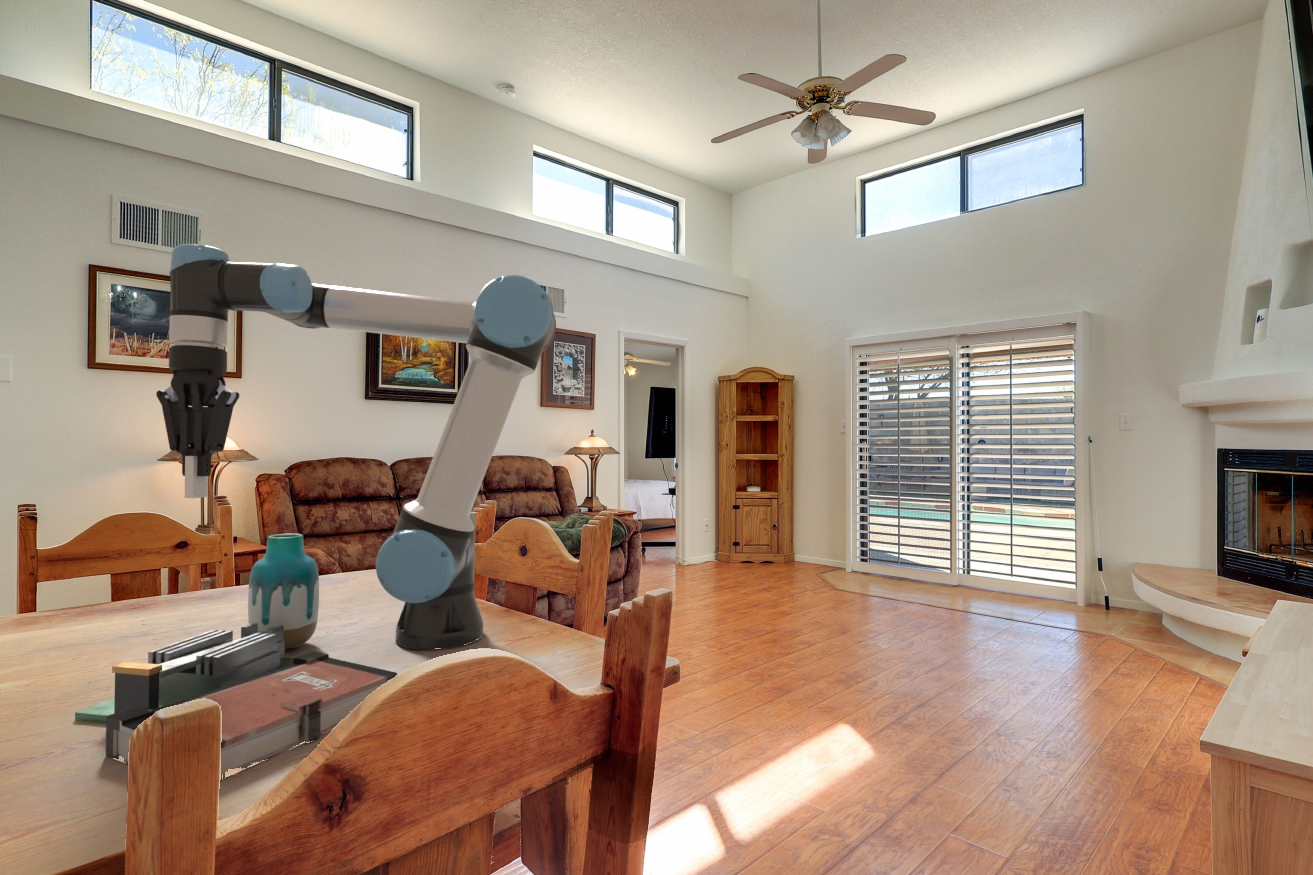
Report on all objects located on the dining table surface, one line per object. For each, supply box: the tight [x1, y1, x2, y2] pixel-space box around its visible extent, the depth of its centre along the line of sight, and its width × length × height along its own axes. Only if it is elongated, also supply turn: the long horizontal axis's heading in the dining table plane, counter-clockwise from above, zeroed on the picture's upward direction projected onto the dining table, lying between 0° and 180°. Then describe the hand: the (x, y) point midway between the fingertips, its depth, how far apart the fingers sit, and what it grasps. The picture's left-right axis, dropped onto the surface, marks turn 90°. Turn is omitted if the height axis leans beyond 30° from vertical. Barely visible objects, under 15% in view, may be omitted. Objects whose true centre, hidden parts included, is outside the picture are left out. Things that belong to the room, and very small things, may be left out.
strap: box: [159, 637, 245, 678], centre depth 95 cm, size 3×20×1 cm, turn 170°
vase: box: [247, 533, 320, 650], centre depth 114 cm, size 11×11×19 cm
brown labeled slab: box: [105, 650, 398, 782], centre depth 83 cm, size 26×18×5 cm
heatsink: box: [74, 623, 294, 725], centre depth 94 cm, size 15×24×7 cm, turn 170°
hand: (196, 497), depth 104 cm, fingers closed
